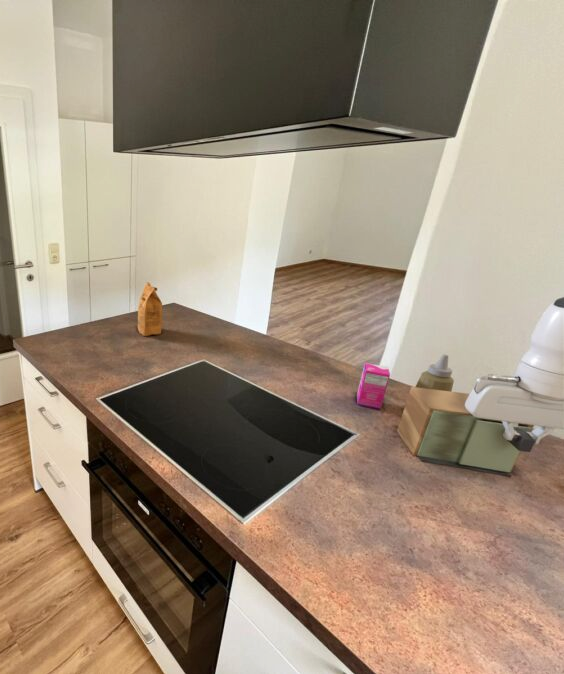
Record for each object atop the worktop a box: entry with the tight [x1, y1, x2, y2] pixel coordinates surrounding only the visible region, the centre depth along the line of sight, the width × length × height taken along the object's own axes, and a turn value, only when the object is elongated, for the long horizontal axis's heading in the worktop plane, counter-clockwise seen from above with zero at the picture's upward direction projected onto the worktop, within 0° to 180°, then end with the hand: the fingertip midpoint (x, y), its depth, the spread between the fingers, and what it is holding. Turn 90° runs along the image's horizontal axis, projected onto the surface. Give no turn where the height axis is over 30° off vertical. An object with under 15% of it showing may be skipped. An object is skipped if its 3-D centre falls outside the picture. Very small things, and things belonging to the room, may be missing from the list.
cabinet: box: [396, 386, 535, 478], centre depth 83 cm, size 18×12×13 cm, turn 72°
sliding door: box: [458, 420, 535, 473], centre depth 75 cm, size 9×5×11 cm, turn 72°
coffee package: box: [137, 281, 163, 337], centre depth 159 cm, size 10×12×22 cm
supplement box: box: [356, 362, 391, 411], centre depth 103 cm, size 6×6×12 cm
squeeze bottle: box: [414, 353, 455, 392], centre depth 96 cm, size 8×8×18 cm
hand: (519, 440), depth 73 cm, fingers closed on sliding door, 2 cm apart
